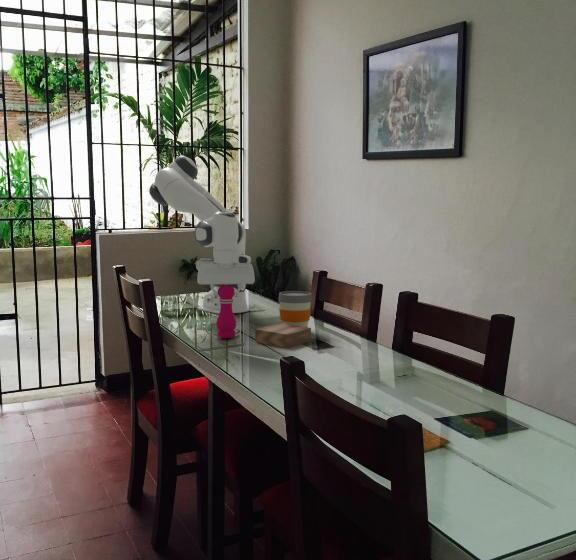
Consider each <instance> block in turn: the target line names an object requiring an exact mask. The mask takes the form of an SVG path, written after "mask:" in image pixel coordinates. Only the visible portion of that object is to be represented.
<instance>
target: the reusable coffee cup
mask: <svg viewBox="0 0 576 560" xmlns="http://www.w3.org/2000/svg"><path fill="white" fill-rule="evenodd" d="M312 302H313V299H312V293H311V292H309V291H301V290H300V291H299V290H291V291H290V290H289V291H288V290H287V291H281V292H279V293H278V303H279V308H278V312H279V319H280V321H281V324H288V325H294V326H301V327H307V328H309V327H308V326H309V321H310V318H311V313H312V312H311V311H312V307H311V305H312Z"/></svg>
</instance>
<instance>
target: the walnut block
mask: <svg viewBox="0 0 576 560" xmlns="http://www.w3.org/2000/svg"><path fill="white" fill-rule="evenodd" d="M254 332H255V335H254V336H255V343H259V344H263V345H269V346H276V347H282V348H286V349H287V348H291V347H295V346H299V345H301V344H302V345H303V344H305V343H309V342H311V340H312V327H301V326H294V325H288V324H282V322H281V323H275V324H271V325H268V326H264V327H263V326H262V327H260V328H255V331H254Z"/></svg>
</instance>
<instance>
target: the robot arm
mask: <svg viewBox="0 0 576 560" xmlns="http://www.w3.org/2000/svg"><path fill="white" fill-rule="evenodd" d="M198 173H199V172H198V167H197V165H196V163H195V162H194V160H192V159H191V158H190V157H187V156H185V155H178V156H177V157H176V158H175V159H174V160H173V161H172V162H171V163H170V164H168V165H167V166H166V167H164V168H162V169H160V170H158V172H157V173H156V175H155V177H154V182H152V184H151V185H150V186H149V191H148V192H149V193H148V194H149V195H150V197H151V198H152V200H153V201H154V202H155V203H157V205H158V204H159V205H161V206H169V207H170V208H171V209H173V210H175V211H177V212H181V213H186V214H187V213H188V214H193V216H194V217H195V218H197V219H198V220H199V222H198V223H197V224H196V226H195V229H194V239H195V242H196V243H197V244H198V245H199V246H200V247H204V248H212V247H213V248H212V249H213V250H212V253H213V254H212V257H200V258H199V259H197V260H196V262H195V267H196V270H197V271H198V272H197V284H198V285H209V287H210V289H211V290H209V291H208V292H207V293H206V294H204V296H203V301H202V305H200V306H197V310H199V311H203V312H207V313H214V314H218V315H219V313H220V307H221V306H220V303H219V299H220V297H219V296H218V289H219V287H220V286H222V285H224V284H228V285H230V286H232V287H233V288H234V291H235V292H234V296H233V297H232V298H233V303H232V311H233V314H241V313H245V312H248V311H249V307H248V303H247V296H246V288H247V287H246V286H247V285H253V284H254V283H255V277H256V276H255V271H254V267H253V265H252V263H251V262H252V258H251V256H249V255H246V245H247V244H246V242H247V241H246V239H247V231H246V228H245V226H244V224H243V223H242V222H241V221H239V220H238V217H237V215H236V214H235V213H234V212H232V211H231V212H230V211H229V210H227V209H226V208H225V206H224V205H222V203H221V202H219V201H218V200H217V199H216V198H215V197H214V195H212V194H211V193H210V192H209V191H208V190H207V189H206V188H205V187H204V186H202V185H201V184H200V183H198V182H197V181H196V180H198Z"/></svg>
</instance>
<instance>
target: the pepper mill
mask: <svg viewBox="0 0 576 560" xmlns="http://www.w3.org/2000/svg"><path fill="white" fill-rule="evenodd" d="M234 292H235V291H234V288H233V287H232V286H230V285H228V284H224V285H222V286H220V287H219V289H218V296H219V297H220V299H219V303H220V306H221V307H220V313H219V314H218V315H217V319H216V320H215V321H216V322H215V326H216V328H217V329H218V330H217V337H218V338H222V339H230V338H234V337H236V331H235V328H236V327H237V319H236V317H235V313H233V311H232V303H233V298H232V297H233V296H234Z"/></svg>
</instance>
